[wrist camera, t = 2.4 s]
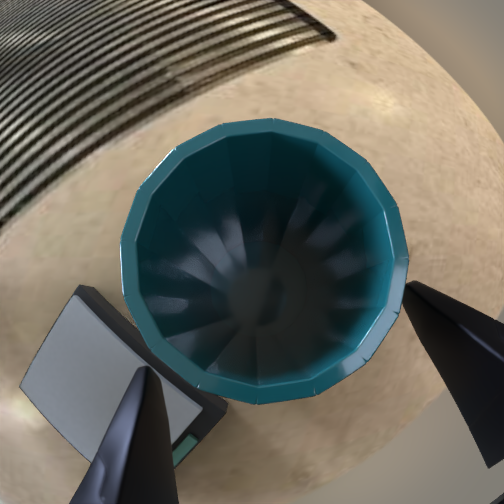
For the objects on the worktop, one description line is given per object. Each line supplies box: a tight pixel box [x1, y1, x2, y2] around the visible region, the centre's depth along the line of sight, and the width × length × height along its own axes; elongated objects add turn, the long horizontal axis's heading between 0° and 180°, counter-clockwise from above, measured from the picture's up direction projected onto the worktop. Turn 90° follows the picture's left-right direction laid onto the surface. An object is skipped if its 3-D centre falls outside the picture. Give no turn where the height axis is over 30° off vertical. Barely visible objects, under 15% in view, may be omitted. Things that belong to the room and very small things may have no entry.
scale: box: [19, 285, 228, 469], centre depth 17 cm, size 12×10×3 cm
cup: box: [120, 118, 409, 405], centre depth 13 cm, size 7×7×13 cm
